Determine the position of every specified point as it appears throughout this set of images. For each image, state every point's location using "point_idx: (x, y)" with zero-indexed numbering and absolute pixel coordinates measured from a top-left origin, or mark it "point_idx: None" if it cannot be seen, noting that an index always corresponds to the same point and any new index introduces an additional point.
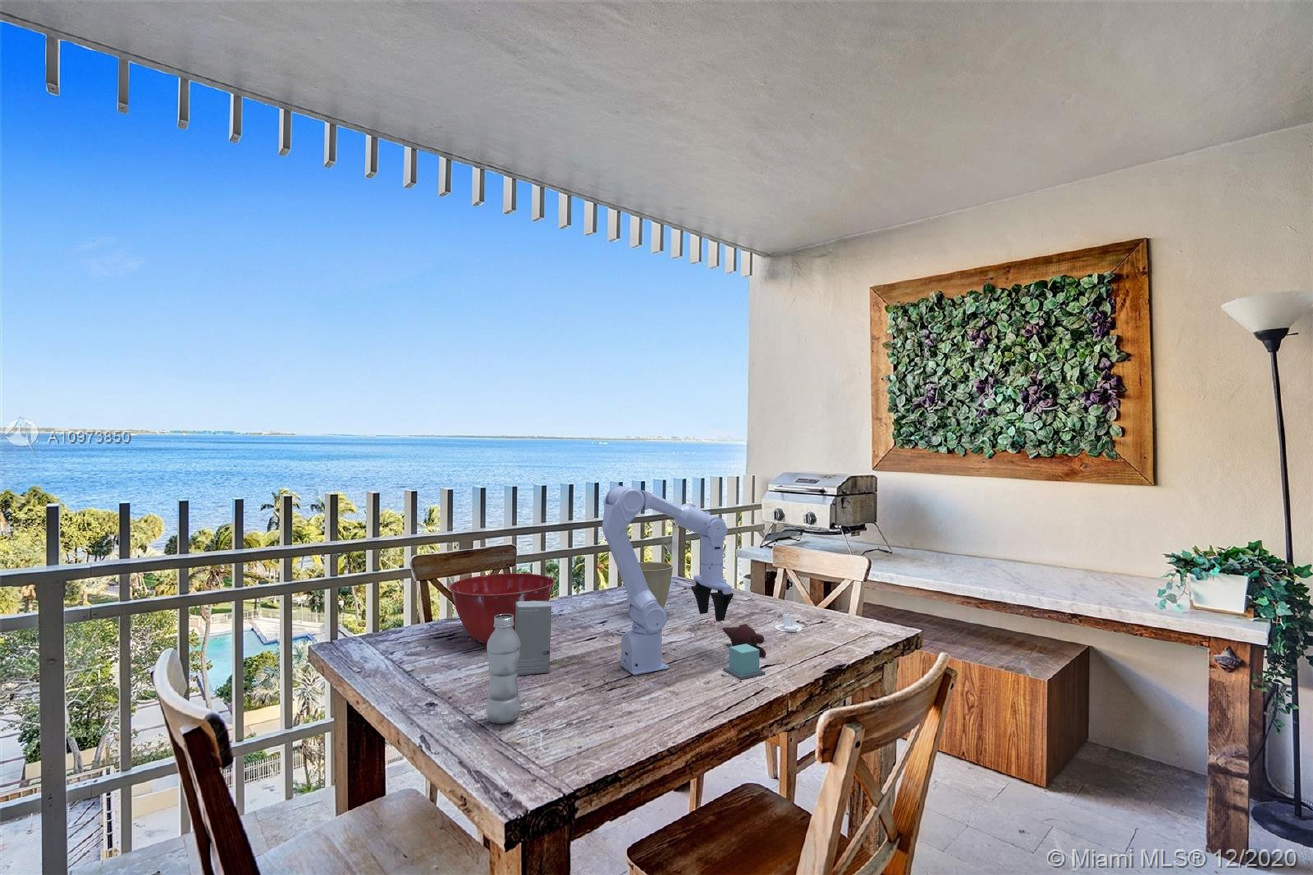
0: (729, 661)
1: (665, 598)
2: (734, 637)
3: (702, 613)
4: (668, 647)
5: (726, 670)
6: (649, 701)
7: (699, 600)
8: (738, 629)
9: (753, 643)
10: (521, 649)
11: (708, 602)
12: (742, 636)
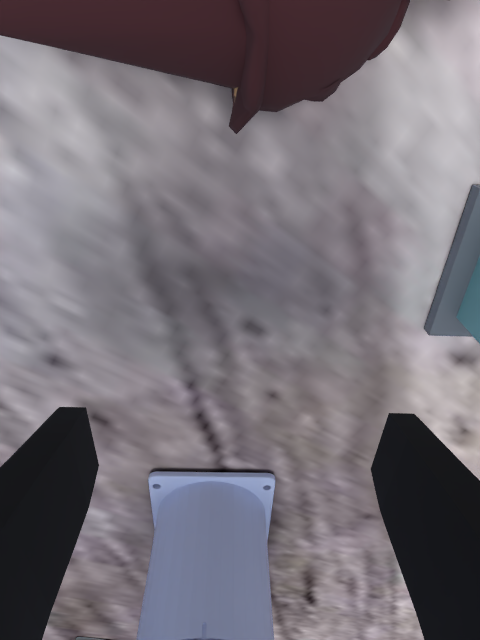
0: (474, 337)
1: None
2: (259, 107)
3: (95, 456)
4: (18, 369)
5: (454, 333)
6: None
7: (36, 634)
8: (265, 49)
9: None
10: None
11: (24, 505)
12: (343, 67)
